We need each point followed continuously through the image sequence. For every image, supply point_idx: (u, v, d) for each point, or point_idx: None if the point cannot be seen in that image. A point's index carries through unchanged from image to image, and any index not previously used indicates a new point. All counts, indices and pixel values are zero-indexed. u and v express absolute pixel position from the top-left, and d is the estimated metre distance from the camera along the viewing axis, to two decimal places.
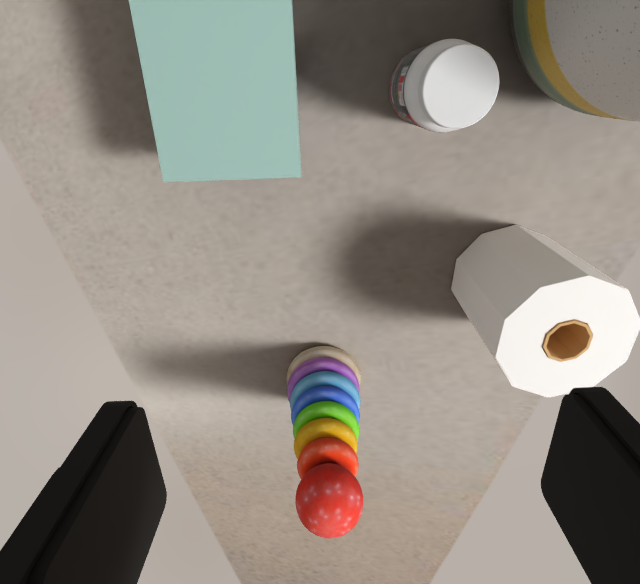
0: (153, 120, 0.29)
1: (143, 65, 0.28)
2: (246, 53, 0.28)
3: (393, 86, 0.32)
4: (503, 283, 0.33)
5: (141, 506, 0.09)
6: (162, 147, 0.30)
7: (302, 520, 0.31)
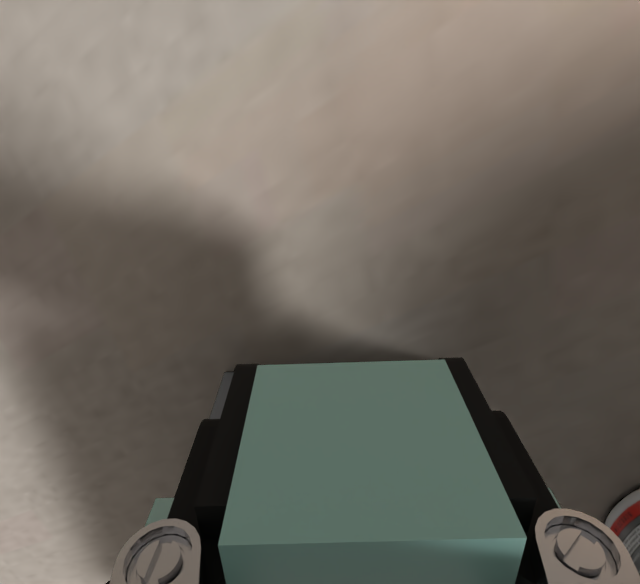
0: None
1: None
2: None
3: (638, 571, 0.18)
4: None
5: None
6: None
7: None
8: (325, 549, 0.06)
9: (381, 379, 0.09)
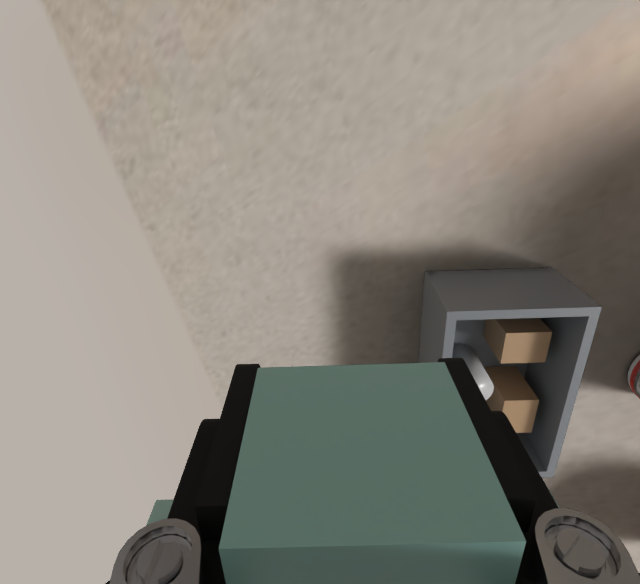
0: None
1: None
2: None
3: None
4: None
5: None
6: None
7: None
8: (325, 553, 0.06)
9: (381, 382, 0.09)
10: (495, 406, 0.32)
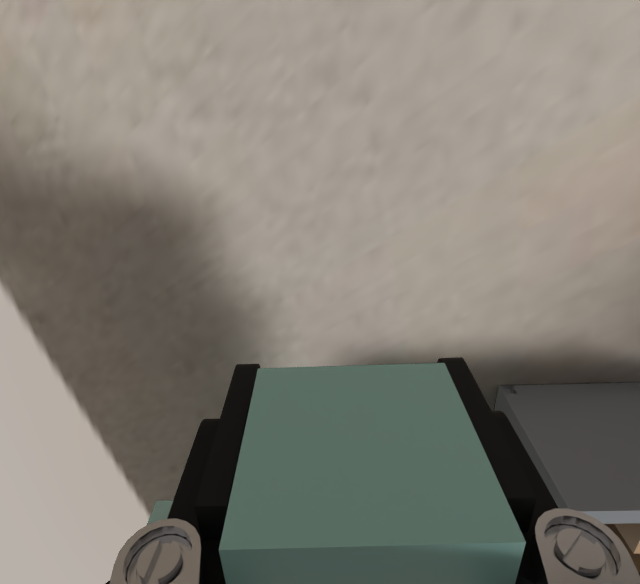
0: None
1: None
2: None
3: None
4: None
5: None
6: None
7: None
8: (326, 554, 0.06)
9: (381, 382, 0.09)
10: None
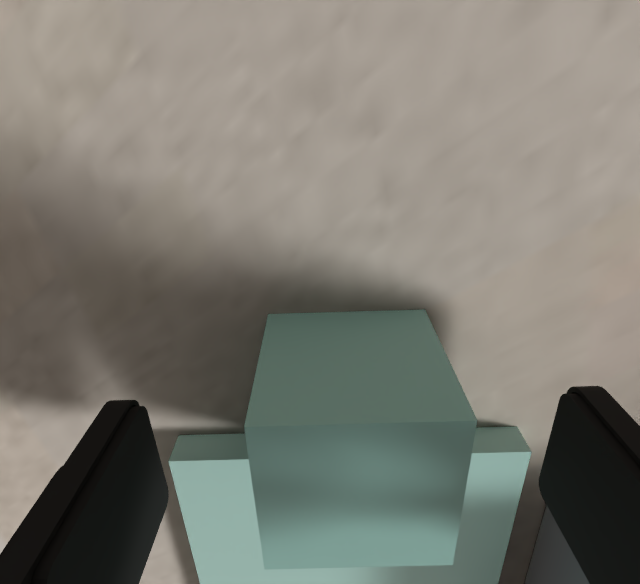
0: None
1: None
2: None
3: None
4: None
5: (143, 505, 0.09)
6: None
7: None
8: (325, 431, 0.07)
9: (371, 323, 0.10)
10: None
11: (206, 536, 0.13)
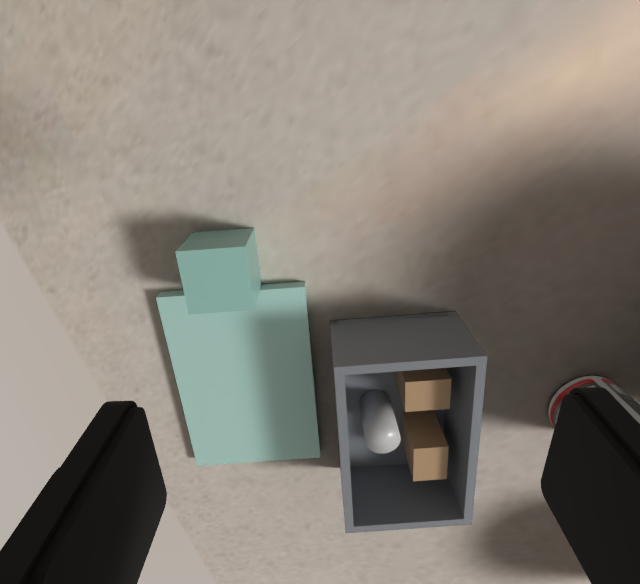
0: (188, 425, 0.33)
1: (180, 389, 0.32)
2: (270, 378, 0.31)
3: None
4: None
5: (141, 506, 0.09)
6: (196, 442, 0.34)
7: None
8: (200, 252, 0.24)
9: (230, 232, 0.27)
10: (410, 453, 0.31)
11: (174, 339, 0.30)
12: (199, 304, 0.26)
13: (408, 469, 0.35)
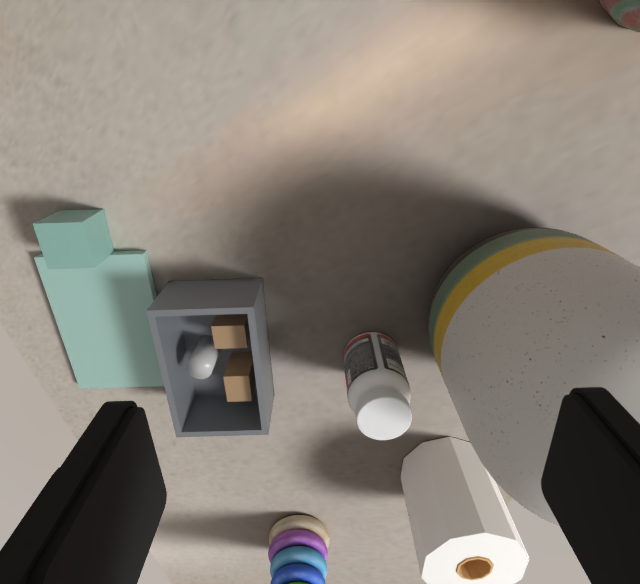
0: (69, 356, 0.44)
1: (60, 328, 0.42)
2: (126, 322, 0.42)
3: (344, 367, 0.42)
4: (429, 514, 0.43)
5: (141, 506, 0.09)
6: (77, 370, 0.45)
7: None
8: (50, 224, 0.35)
9: (84, 211, 0.38)
10: None
11: (51, 289, 0.41)
12: (54, 262, 0.36)
13: None
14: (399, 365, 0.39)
